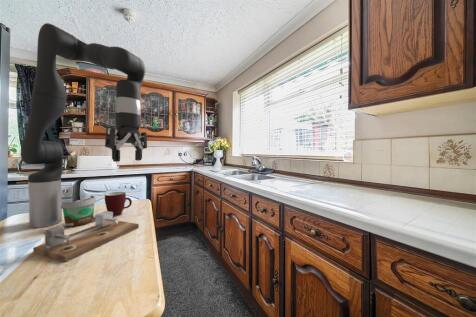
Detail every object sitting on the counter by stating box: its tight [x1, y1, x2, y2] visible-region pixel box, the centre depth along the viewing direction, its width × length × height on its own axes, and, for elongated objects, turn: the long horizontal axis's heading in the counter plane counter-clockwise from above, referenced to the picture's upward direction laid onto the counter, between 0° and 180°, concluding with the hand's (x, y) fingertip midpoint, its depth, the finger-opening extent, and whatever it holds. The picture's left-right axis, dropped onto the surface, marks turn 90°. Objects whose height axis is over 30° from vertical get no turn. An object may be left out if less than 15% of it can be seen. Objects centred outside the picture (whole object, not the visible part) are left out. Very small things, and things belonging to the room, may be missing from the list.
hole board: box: [32, 220, 140, 263], centre depth 64 cm, size 14×24×6 cm, turn 162°
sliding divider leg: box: [94, 210, 119, 227], centre depth 70 cm, size 8×4×4 cm, turn 72°
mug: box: [104, 191, 133, 217], centre depth 88 cm, size 10×8×10 cm
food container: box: [61, 195, 97, 228], centre depth 77 cm, size 12×6×10 cm, turn 168°
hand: (128, 160), depth 65 cm, fingers open, 8 cm apart
